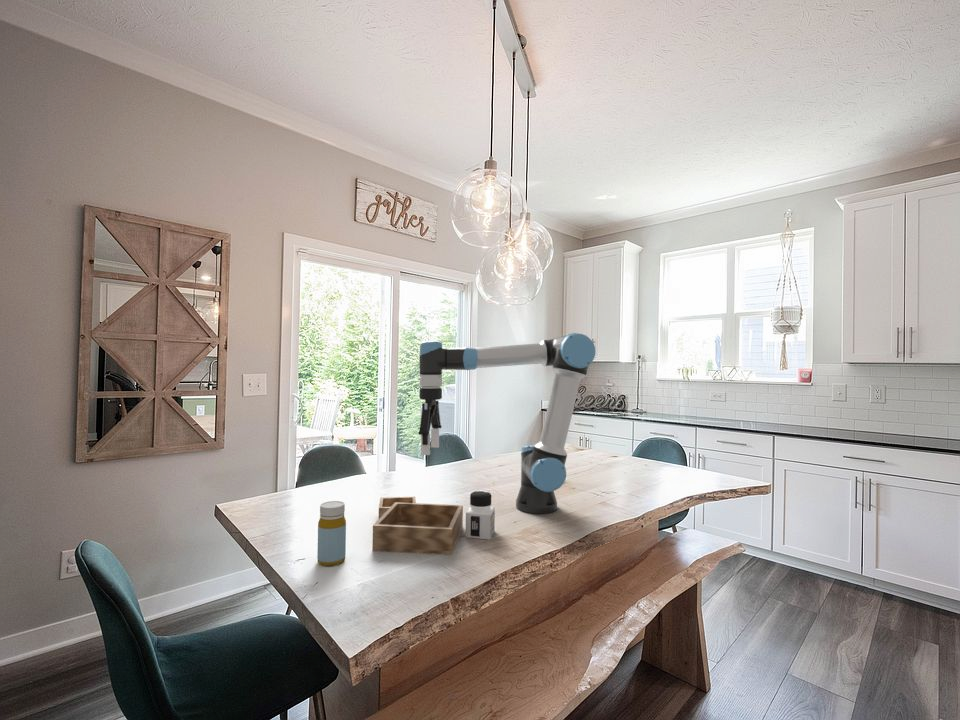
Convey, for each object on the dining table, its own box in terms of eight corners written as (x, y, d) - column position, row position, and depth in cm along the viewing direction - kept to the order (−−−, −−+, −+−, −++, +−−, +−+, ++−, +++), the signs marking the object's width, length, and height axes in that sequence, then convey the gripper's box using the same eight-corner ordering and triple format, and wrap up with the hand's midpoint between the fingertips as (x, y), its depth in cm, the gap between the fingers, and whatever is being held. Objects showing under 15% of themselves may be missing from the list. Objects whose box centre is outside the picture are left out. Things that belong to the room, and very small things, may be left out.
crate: (462, 526, 150) (462, 505, 150) (451, 554, 127) (452, 529, 128) (394, 523, 152) (395, 502, 152) (372, 550, 130) (372, 525, 130)
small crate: (415, 513, 163) (415, 496, 163) (415, 524, 151) (416, 506, 151) (380, 514, 161) (380, 497, 161) (378, 526, 149) (378, 508, 149)
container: (490, 540, 139) (490, 496, 139) (465, 537, 140) (465, 494, 141) (494, 531, 146) (495, 489, 147) (470, 529, 148) (471, 488, 148)
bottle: (321, 556, 125) (322, 500, 126) (347, 555, 126) (348, 500, 126) (314, 567, 118) (315, 508, 119) (342, 566, 119) (343, 508, 119)
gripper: (428, 385, 168) (428, 444, 168) (409, 389, 144) (409, 457, 143) (448, 386, 168) (448, 444, 167) (433, 389, 143) (433, 458, 142)
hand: (430, 451), depth 155 cm, fingers open, 13 cm apart
